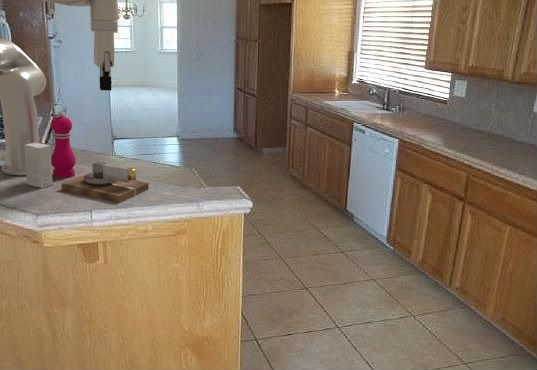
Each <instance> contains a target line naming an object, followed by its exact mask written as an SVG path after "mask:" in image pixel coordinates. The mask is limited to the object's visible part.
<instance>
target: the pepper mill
mask: <svg viewBox="0 0 537 370" xmlns="http://www.w3.org/2000/svg"><path fill="white" fill-rule="evenodd" d="M50 128H51V130H52V131H53V133H52V134H53V138H54V141H55V142H54V150H53V152H52V153H51V166H52V167H53V168H52V176H53V177H56V178H61V179H63V178H65V179H66V178H72V177H74V176H75V173H76V172H75V168H74V166H76V164H77V161H76V156H75V154H74V151H73V150H72V147H71V142H70V141H71V139H70V138H71V137H72V135H71V134H72V132H71V130H72V129H73V123H72V120H71V119H70V118H68V117H66V116H65V112H63V111H59V112H58V113H57V116H56V117H54V118H53V119H52V120H51V121H50Z"/></svg>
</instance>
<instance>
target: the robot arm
mask: <svg viewBox="0 0 537 370" xmlns="http://www.w3.org/2000/svg"><path fill="white" fill-rule="evenodd" d="M42 1H43V2H47V3H52V4H56V5H57V4H58V5H63V6H69V7H89V9H90V10H89V14H90V15H89V16H90V17H89V18H90V31H91V32H94V34H93V63H94V66H97V67H98V68H99V90H100V91H107V92H108V91H110V92H111V91H112V68H113V67H114V66H115V34H116V33H119V30H118V27H119V26H118V24H119V20H118V0H42ZM0 72H1V74H0V104H1V110H2V122H3V131H4V141H5V142H4V144H5V152H3V153H2V155H0V161H3V162H4V165H2V167H1V171H2V173H4V174H6V175H10V176H11V175H13V176H27V175H26V161H25V148H24V145H26V144H31V143H40V138H39V137H40V135H39V120H38V110H37V106H36V103H35V99H34V97H36V96H38V95H40V94H42V93H43V91H45V89H46V86H47V79H46V76H45V73H44V72H43V71H42V70H41V68H40V67H39V66H38V64H36V63H35V62H34V61H33V60H32V59H31V58H30V56H28V55H27V54H26V53H25V52H24V51H23V50H22V49H21V48H20V47H19V46H18V45H16V44H15V43H14V42H13V41H11V40H9V39H5V38H0Z"/></svg>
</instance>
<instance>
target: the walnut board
mask: <svg viewBox="0 0 537 370" xmlns="http://www.w3.org/2000/svg"><path fill="white" fill-rule="evenodd" d="M89 173H92V171H91V172H88V173H85V174H82V175H80V176H77V177H75V178H71V179H69V180H66V181H63V182H61V190H63V191H66V192H71V193H74V194H80V195H84V196H88V197H93V198H96V199H101V200H105V201H110V202H114V203H118V204H120V203H123V202H124V201H126V199H127V200H128V199H130V198H133V197H135V196H138V195H139V194H141V193H144V192H145V191H148V190H149V186H150V185H149V182H145V181H140V180H137V179H136V180H132V182H130V183H126V182H121V181H116V182H115V183H114V184H111V185H107V186H91V185H87V184H85V183H84V176H85V175H86V174H89ZM143 191H144V192H143Z"/></svg>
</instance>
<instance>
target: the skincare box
mask: <svg viewBox="0 0 537 370" xmlns="http://www.w3.org/2000/svg"><path fill="white" fill-rule="evenodd" d="M24 148H25V161H26V175H25V176H26V185H27V186H28V185H29V186H33V187H37V188H41V189H43V188H46V187H50V186H53V168H52V167H53V166H52V164H51V157H52V152H51V145H50V144H44V143H40V142H39V143H31V144H26V145H24Z"/></svg>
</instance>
